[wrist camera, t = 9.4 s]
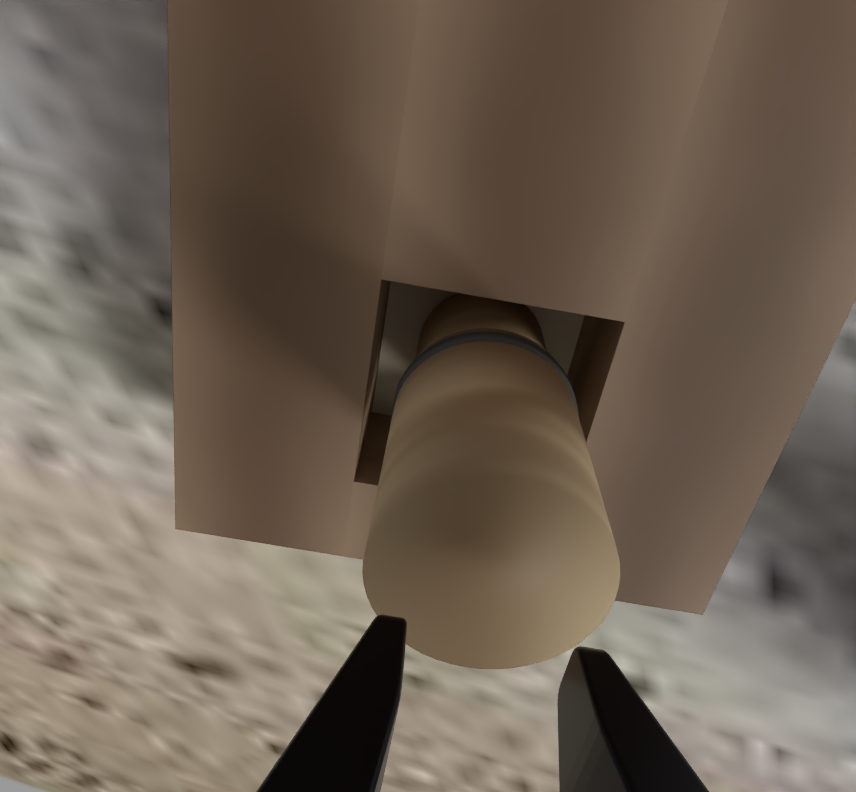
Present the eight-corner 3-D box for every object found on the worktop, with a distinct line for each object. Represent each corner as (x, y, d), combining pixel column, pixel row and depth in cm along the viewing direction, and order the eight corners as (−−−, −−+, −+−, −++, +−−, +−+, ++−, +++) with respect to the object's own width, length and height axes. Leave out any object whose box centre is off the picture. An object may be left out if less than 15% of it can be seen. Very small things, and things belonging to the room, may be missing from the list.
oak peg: (573, 290, 18) (659, 495, 10) (537, 424, 20) (583, 688, 12) (418, 263, 18) (377, 447, 10) (396, 400, 20) (345, 650, 12)
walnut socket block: (1005, -341, 13) (1250, -515, 9) (660, 510, 22) (702, 614, 18) (256, -495, 12) (155, -750, 8) (229, 438, 22) (175, 529, 18)
